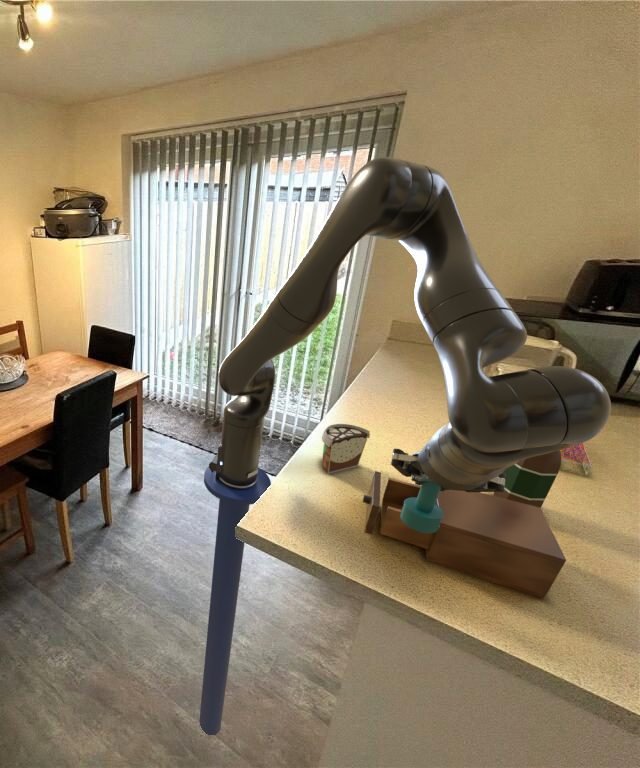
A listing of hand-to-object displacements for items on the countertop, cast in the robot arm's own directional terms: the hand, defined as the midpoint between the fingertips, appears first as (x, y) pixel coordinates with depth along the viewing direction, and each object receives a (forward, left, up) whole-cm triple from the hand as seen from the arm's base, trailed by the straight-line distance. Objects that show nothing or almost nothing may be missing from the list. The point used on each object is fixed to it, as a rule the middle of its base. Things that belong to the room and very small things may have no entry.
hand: (429, 481), depth 64 cm
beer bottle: (+21, +30, -19) cm, 41 cm away
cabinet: (+12, +10, -18) cm, 24 cm away
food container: (-14, +28, -19) cm, 37 cm away
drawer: (+1, +10, -17) cm, 20 cm away
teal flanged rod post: (0, -2, -7) cm, 7 cm away
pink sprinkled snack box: (+33, +67, -19) cm, 77 cm away
